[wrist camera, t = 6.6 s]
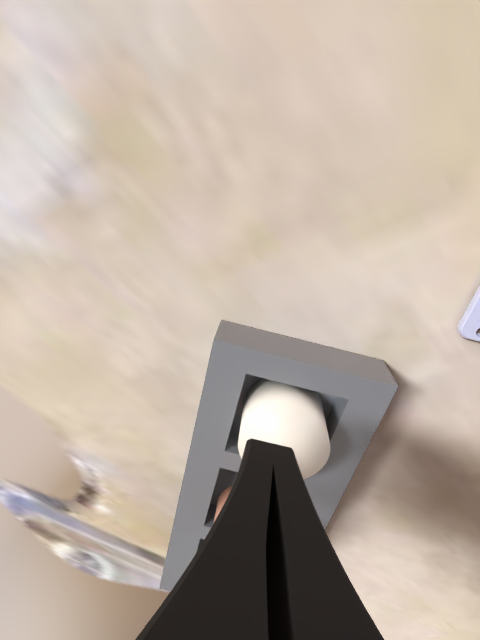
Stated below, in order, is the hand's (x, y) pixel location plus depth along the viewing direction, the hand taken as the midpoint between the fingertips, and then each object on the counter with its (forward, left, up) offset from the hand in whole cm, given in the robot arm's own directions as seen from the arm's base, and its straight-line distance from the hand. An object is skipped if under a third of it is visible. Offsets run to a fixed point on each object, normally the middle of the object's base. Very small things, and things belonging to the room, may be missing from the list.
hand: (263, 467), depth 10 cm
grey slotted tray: (-2, +10, -9) cm, 14 cm away
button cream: (-2, +4, -8) cm, 9 cm away
